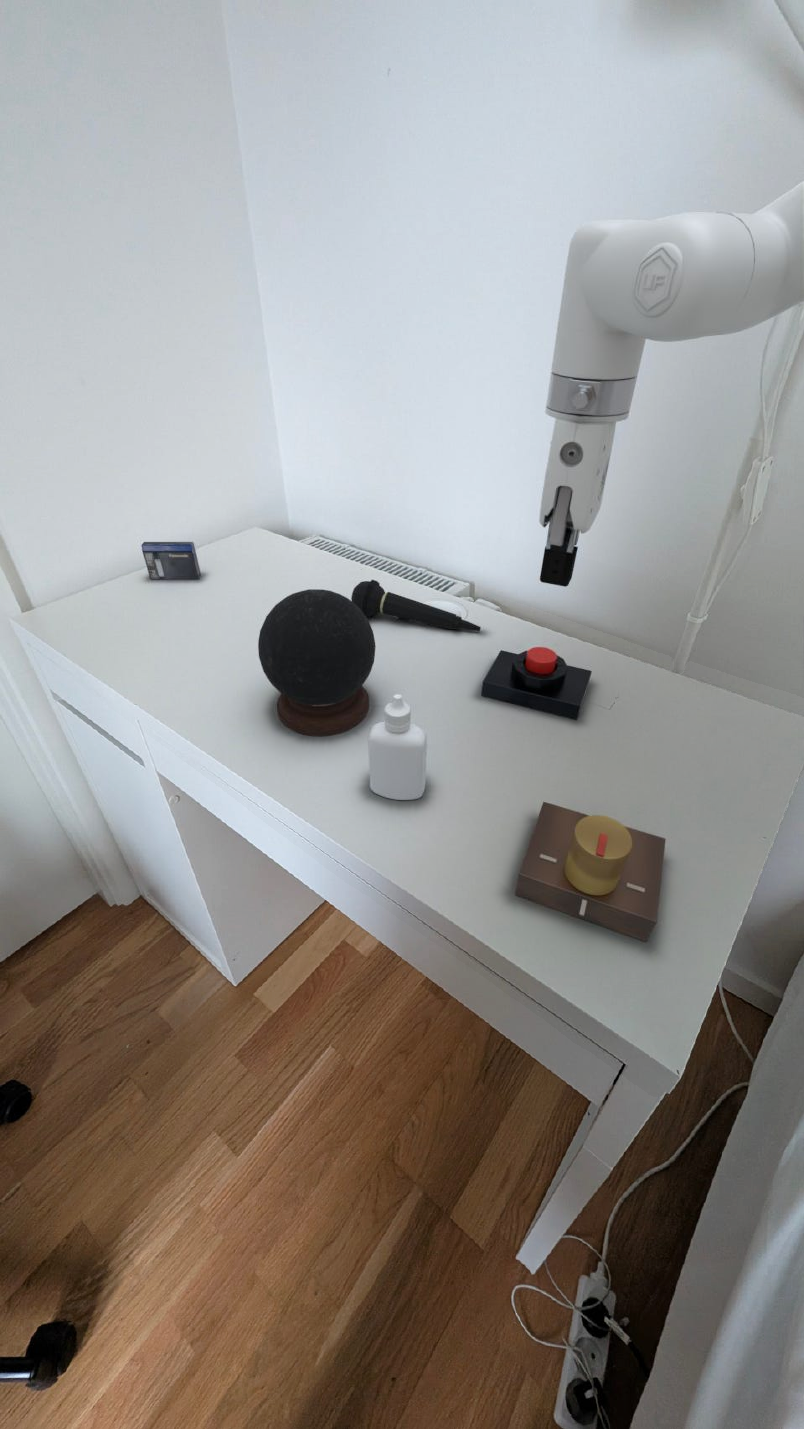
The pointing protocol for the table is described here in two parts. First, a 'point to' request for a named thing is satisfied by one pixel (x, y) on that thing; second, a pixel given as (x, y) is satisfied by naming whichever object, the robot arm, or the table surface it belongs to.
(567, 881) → the panel
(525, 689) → the button box
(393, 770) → the eye dropper bottle
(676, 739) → the table surface
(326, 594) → the black ball on stand
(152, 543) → the mini dv tape
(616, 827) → the knob
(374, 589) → the microphone
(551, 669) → the button
